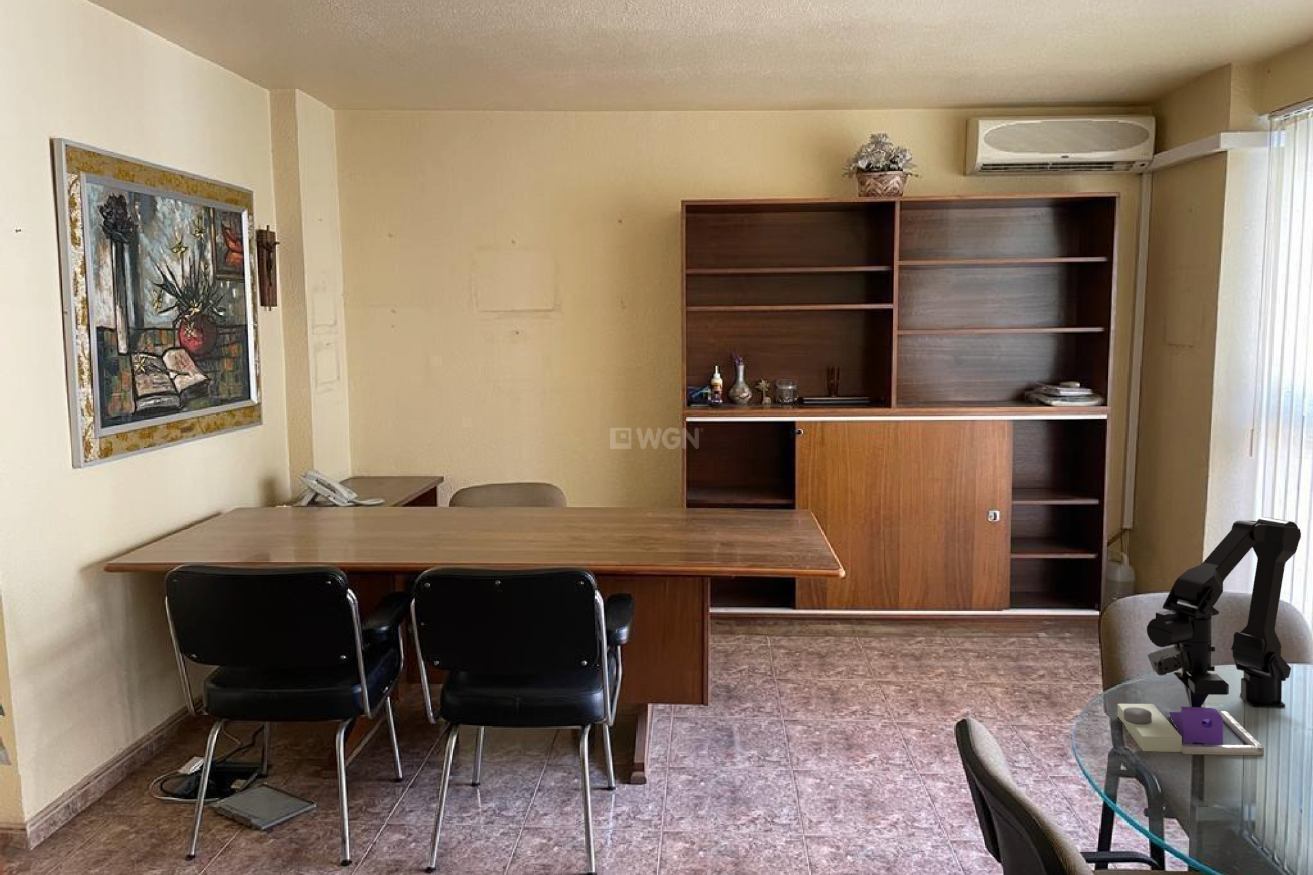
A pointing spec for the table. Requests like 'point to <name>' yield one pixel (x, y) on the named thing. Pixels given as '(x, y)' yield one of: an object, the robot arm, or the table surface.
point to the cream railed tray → (1162, 736)
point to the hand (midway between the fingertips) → (1194, 711)
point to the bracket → (1199, 724)
